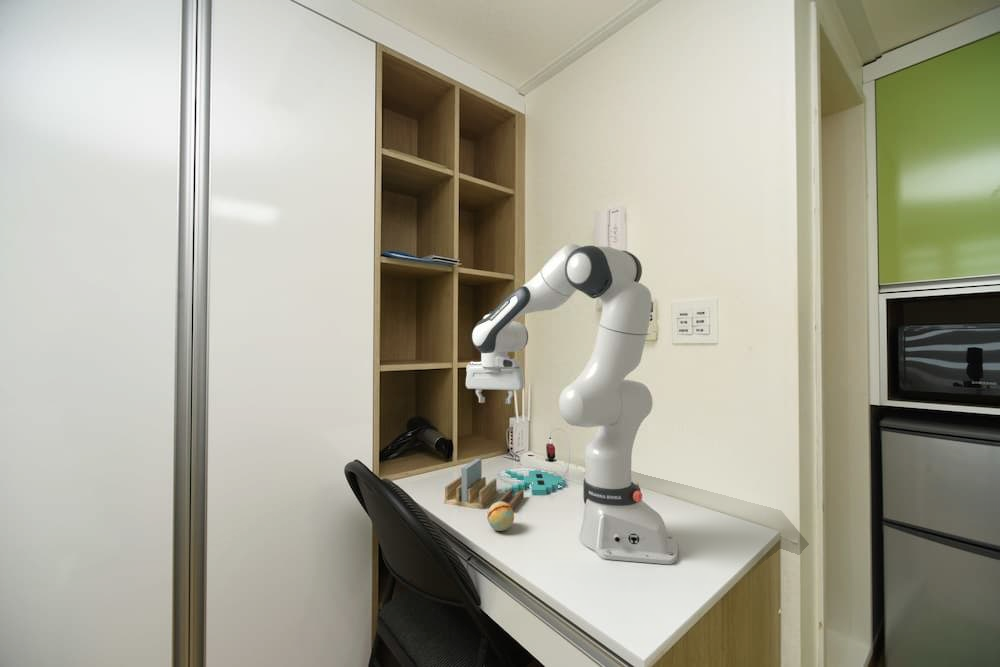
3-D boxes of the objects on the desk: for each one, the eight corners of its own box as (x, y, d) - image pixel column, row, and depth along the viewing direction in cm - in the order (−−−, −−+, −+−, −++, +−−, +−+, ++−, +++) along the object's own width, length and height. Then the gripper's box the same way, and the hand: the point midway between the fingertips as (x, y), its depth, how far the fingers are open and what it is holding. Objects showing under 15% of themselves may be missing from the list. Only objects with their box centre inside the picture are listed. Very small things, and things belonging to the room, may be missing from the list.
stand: (523, 498, 121) (523, 490, 121) (511, 513, 109) (510, 504, 109) (509, 496, 122) (509, 488, 122) (496, 511, 111) (496, 502, 111)
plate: (481, 489, 125) (481, 458, 126) (466, 502, 115) (466, 468, 115) (476, 489, 126) (476, 458, 126) (461, 501, 116) (461, 468, 116)
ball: (486, 524, 103) (486, 497, 103) (512, 522, 104) (511, 496, 104) (488, 537, 96) (488, 508, 96) (516, 535, 97) (515, 507, 97)
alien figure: (504, 496, 123) (567, 496, 123) (504, 489, 123) (566, 489, 123) (505, 476, 143) (558, 476, 143) (505, 470, 143) (558, 470, 143)
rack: (497, 494, 124) (497, 478, 124) (482, 509, 112) (482, 491, 113) (461, 489, 128) (461, 474, 129) (444, 503, 117) (444, 486, 117)
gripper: (462, 361, 129) (462, 403, 128) (520, 362, 121) (520, 405, 121) (470, 361, 135) (470, 400, 134) (526, 361, 127) (526, 403, 127)
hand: (494, 403), depth 127 cm, fingers open, 8 cm apart
